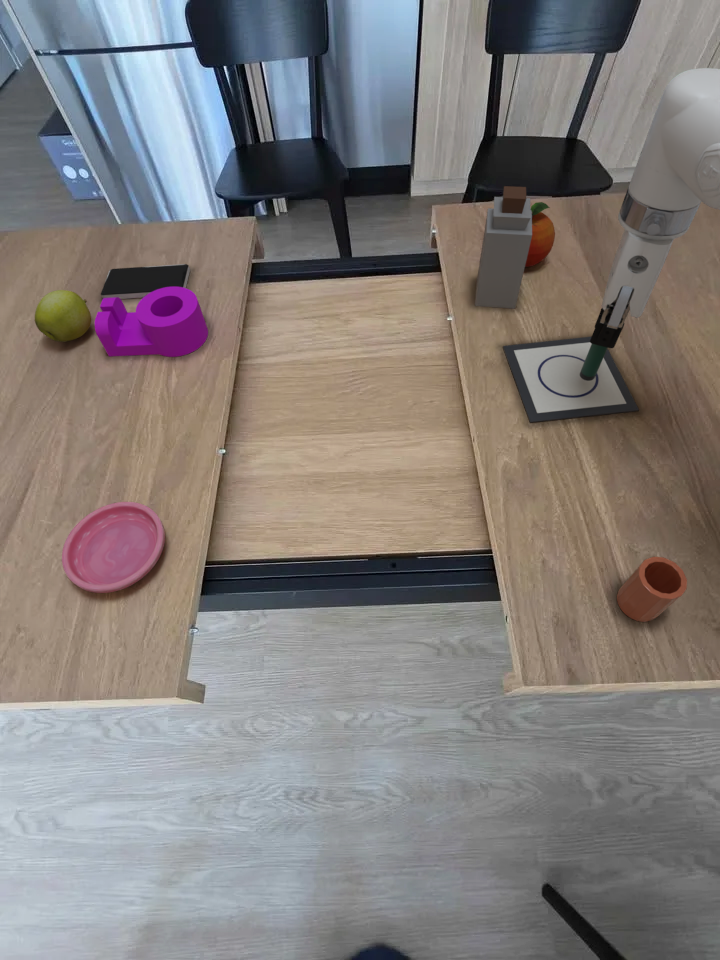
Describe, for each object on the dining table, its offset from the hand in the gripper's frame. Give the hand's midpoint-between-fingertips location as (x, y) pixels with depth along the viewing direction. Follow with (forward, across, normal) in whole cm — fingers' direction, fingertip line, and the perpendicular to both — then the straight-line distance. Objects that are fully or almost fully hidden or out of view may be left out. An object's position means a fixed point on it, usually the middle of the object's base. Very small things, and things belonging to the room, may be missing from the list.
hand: (604, 336), depth 76 cm
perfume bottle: (+10, +16, +18) cm, 26 cm away
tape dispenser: (+10, -15, +68) cm, 70 cm away
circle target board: (+10, +1, +3) cm, 10 cm away
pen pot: (+9, -32, -13) cm, 36 cm away
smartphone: (+10, -4, +78) cm, 79 cm away
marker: (+8, 0, 0) cm, 8 cm away
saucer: (+10, -51, +48) cm, 71 cm away
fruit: (+10, +27, +17) cm, 33 cm away
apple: (+10, -20, +82) cm, 85 cm away
